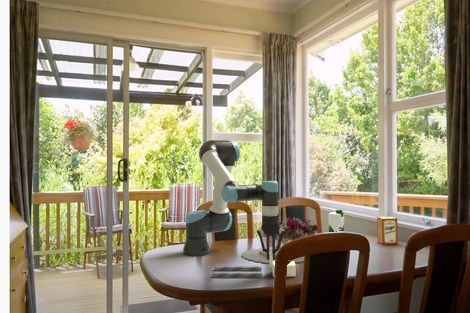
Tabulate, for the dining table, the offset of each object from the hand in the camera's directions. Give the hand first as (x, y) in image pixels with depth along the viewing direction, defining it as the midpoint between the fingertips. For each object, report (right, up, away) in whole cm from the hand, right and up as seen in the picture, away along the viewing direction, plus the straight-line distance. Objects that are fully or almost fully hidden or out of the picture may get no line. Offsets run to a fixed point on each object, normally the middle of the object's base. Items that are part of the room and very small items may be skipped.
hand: (271, 267), depth 163 cm
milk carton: (+48, -4, +66) cm, 82 cm away
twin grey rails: (-15, -3, +1) cm, 16 cm away
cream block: (+6, -3, -1) cm, 6 cm away
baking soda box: (+78, -4, +59) cm, 98 cm away
